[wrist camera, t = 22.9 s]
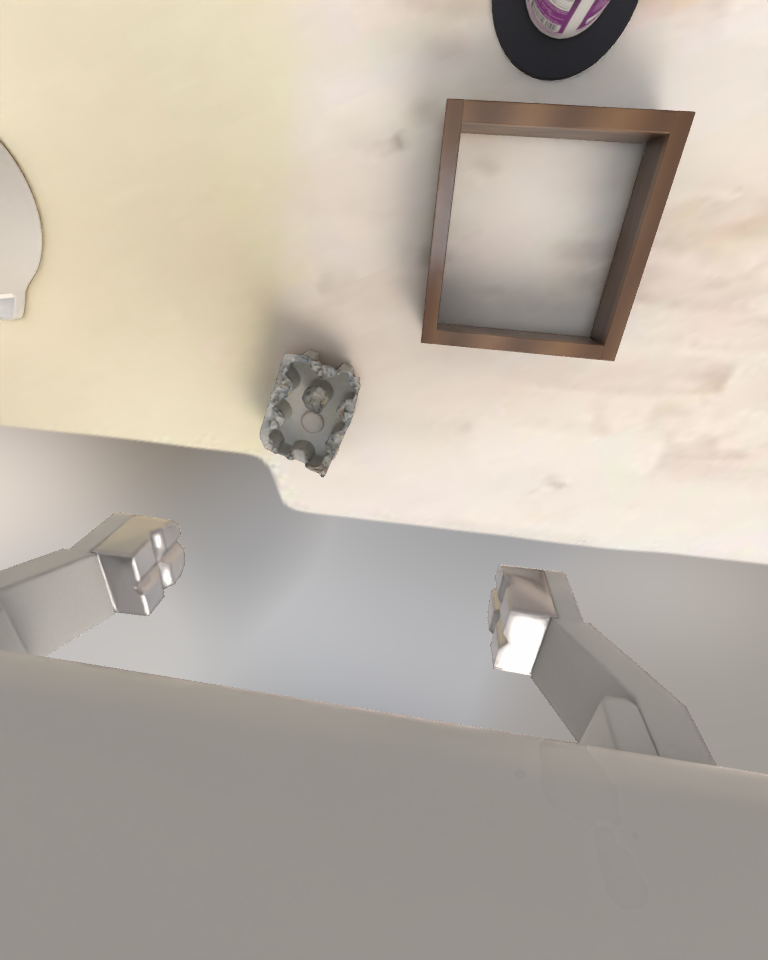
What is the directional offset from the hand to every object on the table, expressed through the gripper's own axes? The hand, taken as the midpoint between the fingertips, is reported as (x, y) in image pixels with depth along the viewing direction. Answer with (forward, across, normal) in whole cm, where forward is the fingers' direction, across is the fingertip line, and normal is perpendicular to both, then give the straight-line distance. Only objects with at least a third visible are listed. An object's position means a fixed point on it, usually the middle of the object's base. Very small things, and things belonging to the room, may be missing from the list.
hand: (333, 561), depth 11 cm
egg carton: (+31, -9, -8) cm, 33 cm away
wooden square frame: (+31, +8, +8) cm, 33 cm away
